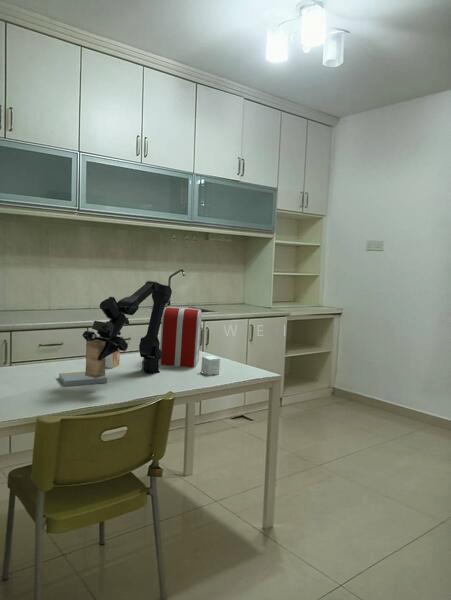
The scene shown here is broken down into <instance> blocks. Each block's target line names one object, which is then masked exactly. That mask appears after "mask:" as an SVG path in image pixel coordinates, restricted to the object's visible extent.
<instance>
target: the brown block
mask: <svg viewBox="0 0 451 600" xmlns="http://www.w3.org/2000/svg"><path fill="white" fill-rule="evenodd" d="M105 343H106V342H105V341H100V340H92V341H86V344H85V345H86V351H85V353H86V354H85V371H86V372H85V376H88V377H92V378H98V377H101V376H106V367H105V362H106V357H105V358H104V359H102V360H100V361H99V360H98V358H99V356H100V354H101V352H102V351H103V349H104V347H105Z"/></svg>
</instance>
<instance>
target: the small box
mask: <svg viewBox="0 0 451 600" xmlns="http://www.w3.org/2000/svg"><path fill="white" fill-rule="evenodd" d="M120 354H121V350H119V348H118V352H117V351H116V352H114V353H112V354H110V355H108V356H107V357H106V362H105V369H106V368H108V369H113V368H115V367H117V366H119V365H120V360H121V359H120V356H121V355H120Z"/></svg>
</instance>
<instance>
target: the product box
mask: <svg viewBox="0 0 451 600" xmlns="http://www.w3.org/2000/svg"><path fill="white" fill-rule="evenodd" d="M220 362H221V358H219V357H217V356H215V355H207V356H202V357H201V370H200V372H201V373H202V372H203V374H204V373H205V375H207V376H212V375H213V374H214V375H218V374H220Z"/></svg>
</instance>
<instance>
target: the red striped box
mask: <svg viewBox="0 0 451 600" xmlns="http://www.w3.org/2000/svg"><path fill="white" fill-rule="evenodd" d="M202 314H203V313H202V309H200V308H192V307H191V308H190V307H189V308H188V307H180V306H179V307H178V306H177V307H176V306H166V307H164V310H163V315H162V319H161V324H160V328H161V329H160V330H161V331H160V342H159V343H160V345H159V349H160V350H161V352H162V353H163V356H162V359H160V360H159V366H168V367H169V366H170V367H172V366H173V367H181V368H182V367H184V368H194V369H195V368H196V367H197V365H198V363H199V360H200V348H201V346H200V345H201V332H202V331H201V329H202Z"/></svg>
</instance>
